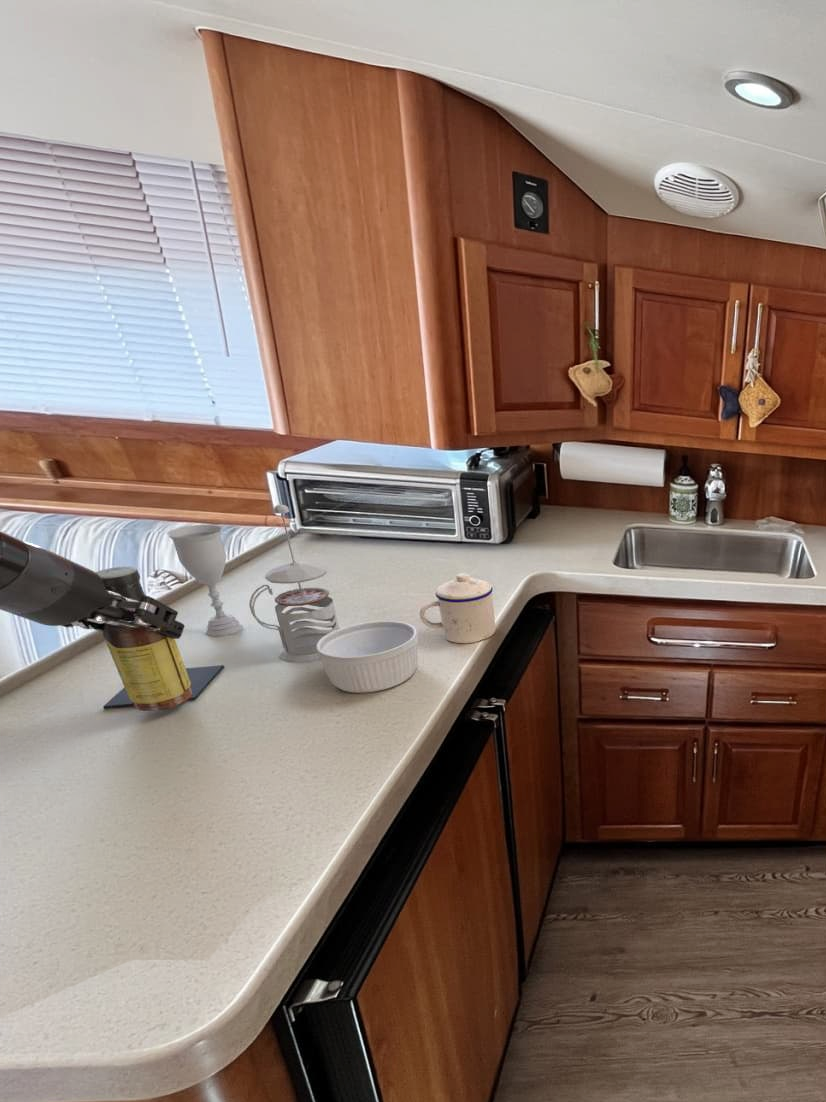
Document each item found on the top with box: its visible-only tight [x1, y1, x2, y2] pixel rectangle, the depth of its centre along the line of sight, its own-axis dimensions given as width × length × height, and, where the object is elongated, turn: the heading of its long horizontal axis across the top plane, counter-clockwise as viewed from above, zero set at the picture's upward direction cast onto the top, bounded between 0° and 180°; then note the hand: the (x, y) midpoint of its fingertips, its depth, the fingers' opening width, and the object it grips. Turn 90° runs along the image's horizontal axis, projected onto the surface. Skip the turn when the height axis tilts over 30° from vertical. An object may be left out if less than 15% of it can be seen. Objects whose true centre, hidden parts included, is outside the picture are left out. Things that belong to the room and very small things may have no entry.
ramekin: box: [316, 620, 419, 694], centre depth 100 cm, size 13×13×7 cm
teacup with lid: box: [418, 572, 497, 644], centre depth 114 cm, size 12×9×12 cm
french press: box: [249, 504, 340, 663], centre depth 102 cm, size 10×12×25 cm
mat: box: [102, 664, 225, 710], centre depth 94 cm, size 10×10×1 cm
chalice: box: [166, 524, 244, 637], centre depth 107 cm, size 7×7×18 cm
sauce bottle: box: [95, 566, 192, 712], centre depth 85 cm, size 7×6×20 cm
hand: (151, 631), depth 86 cm, fingers closed on sauce bottle, 6 cm apart
